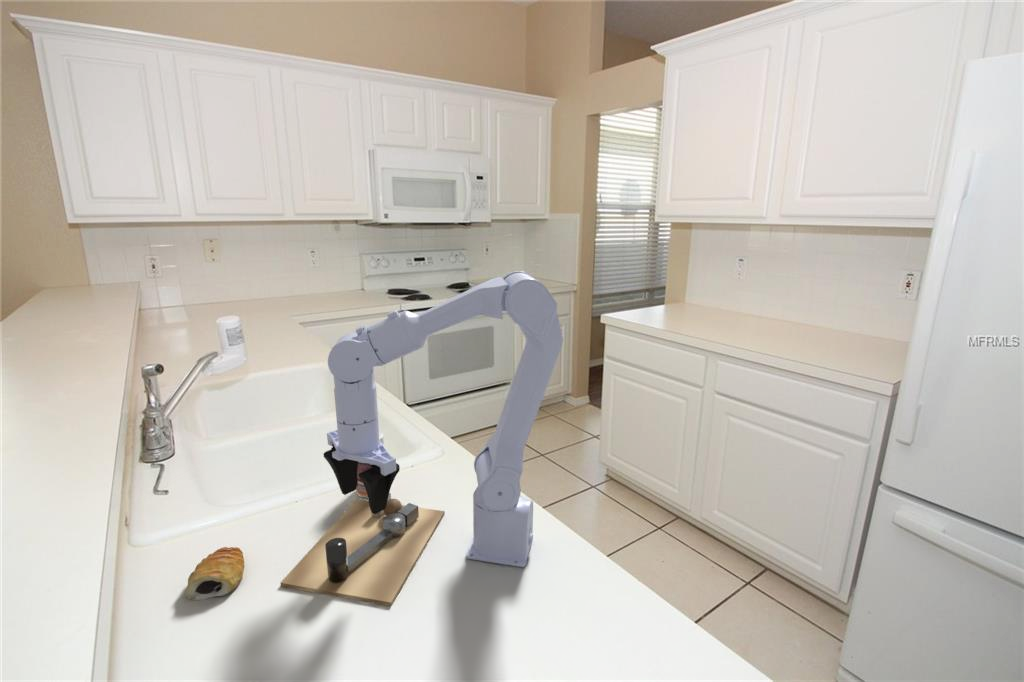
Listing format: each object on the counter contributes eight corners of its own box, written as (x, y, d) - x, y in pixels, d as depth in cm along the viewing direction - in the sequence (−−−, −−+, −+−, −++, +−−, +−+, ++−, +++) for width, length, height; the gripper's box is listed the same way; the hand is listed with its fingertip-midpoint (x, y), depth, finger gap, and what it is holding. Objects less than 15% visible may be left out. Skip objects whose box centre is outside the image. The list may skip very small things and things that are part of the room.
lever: (406, 512, 88) (404, 485, 87) (422, 518, 86) (421, 491, 85) (322, 577, 72) (319, 545, 71) (339, 586, 71) (337, 553, 69)
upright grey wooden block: (385, 505, 90) (384, 491, 90) (391, 508, 90) (390, 493, 89) (371, 516, 87) (370, 501, 87) (377, 518, 87) (376, 503, 86)
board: (444, 514, 89) (444, 511, 89) (391, 606, 68) (391, 602, 68) (356, 501, 93) (356, 499, 92) (280, 586, 72) (280, 582, 72)
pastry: (207, 559, 77) (203, 538, 76) (254, 554, 79) (252, 532, 78) (183, 605, 68) (179, 581, 67) (237, 597, 70) (234, 574, 69)
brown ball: (405, 512, 89) (404, 496, 88) (397, 522, 86) (397, 506, 85) (388, 509, 89) (387, 493, 88) (380, 520, 86) (379, 503, 85)
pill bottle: (393, 493, 96) (391, 438, 93) (361, 502, 92) (357, 446, 89) (382, 478, 101) (379, 426, 98) (351, 487, 97) (348, 434, 94)
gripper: (305, 412, 73) (313, 494, 77) (362, 441, 64) (369, 533, 68) (347, 398, 79) (353, 476, 82) (406, 424, 70) (410, 510, 73)
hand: (363, 500), depth 75 cm, fingers open, 7 cm apart
